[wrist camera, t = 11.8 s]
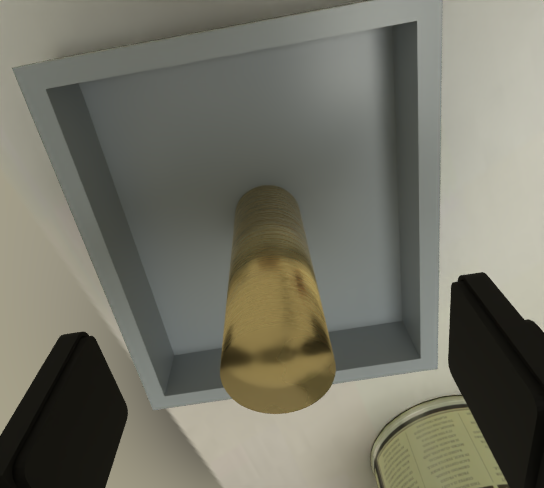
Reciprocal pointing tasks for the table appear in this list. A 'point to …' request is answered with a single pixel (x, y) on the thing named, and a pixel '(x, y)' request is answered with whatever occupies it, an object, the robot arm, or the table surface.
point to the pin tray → (257, 179)
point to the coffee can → (435, 449)
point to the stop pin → (273, 310)
